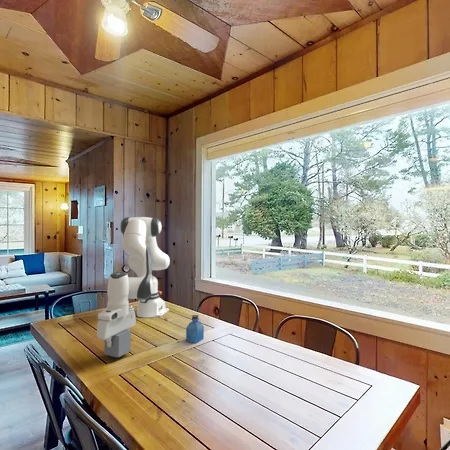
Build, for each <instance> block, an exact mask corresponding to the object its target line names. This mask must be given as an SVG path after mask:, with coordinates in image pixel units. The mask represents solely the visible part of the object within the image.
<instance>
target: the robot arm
mask: <svg viewBox="0 0 450 450" xmlns="http://www.w3.org/2000/svg"><path fill="white" fill-rule="evenodd" d="M120 222H121V223H120V232H121V234H122V235H123V237H122V241H121V247H122V249H123V251H124V252H125V253H126V254H127V255H128V256H129V257H128V260H127V264H128V265H127V266H128V267H129V269H131V270H132V271H133V272H134V273H135V274H136V276H137V277H136V276H135V277H133V276H130V277H129V276H128V275H129V274H128V272H125V271H116V272H112V273H110V275H109V277H108V281H107V291H106V292H107V294H106V295H107V299H108V300H107V304H106V307H105V308H104V309H103V310H102V311H100V312H99V313H98V314H97V319H98V321H97V324H96V325H97V326H96V327H97V328H96V337H97V338H98V339H99V340H104V341H105V340H106V342H107V346H108V347H112V346H113V342H111V339H112V336H114V335H116V334H118V333H120V332H122V331H124V330H130V328H133V327H135V325H136V322H137V321H136V316H137V317H139V318H144V319H145V318H146V319H147V318H157V317H163V315H165V314H166V313H168V312H169V311H170V308H168V307H166V302H165V300H163V298H161V297H160V295H162V293H163V292H162V291H160V290H158V289H159V287H158V286H159V281H158V278H157V277H156V276H154V275H153V271H162V270H166V269H168V268H169V266H170V264H171V260H170V259H171V258H170V256H169V255H168V254H166V253H165V252H164V251H162V250H161V249H160V248H159V246H158V243H157V237H158V236H160V234H161V233H162V228H163V227H162V221H161V220H160V218H157V217H148V216H135V217H134V216H132V217H130V216H129V217H128V216H127V217H124V218H123V219H122V220H121V221H120ZM129 299H132V300H133V299H134V300H135V299H137V306H136V307H137V308H136V311H135V307H134V306H133V305H130V302H129Z"/></svg>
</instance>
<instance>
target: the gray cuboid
mask: <svg viewBox="0 0 450 450" xmlns="http://www.w3.org/2000/svg"><path fill="white" fill-rule="evenodd" d="M131 331H132V330H130V329H129V330H124V331H122V332H120V333H118V334H116V335H114V336H112V339H111V342H113V346H112V347H108V346H107V342H106V340H104V348H103V349H104V351H103V352H104V355H105V356H111V357H112V356H114V357H113V358H120V357H122V356H124V355H125V354H127V353H129V352H131V344H132V343H131V341H132V340H131V337H132V336H131V335H132V334H131V333H132V332H131Z"/></svg>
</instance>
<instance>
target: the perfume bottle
mask: <svg viewBox="0 0 450 450" xmlns="http://www.w3.org/2000/svg"><path fill="white" fill-rule="evenodd" d="M191 317H192V318H191V322H189V323H188V325H187V326H186V331H185V334H186V335H185V336H186V339H185V340H186V342H191V343H195V344H198V343H199V342H201V341H203V340H205V339H204V334H205V332H204V331H205V329H204V328H205V327H204V325H203V323H202V322H201V321H199V319H200V318H199V315H198V314H192V316H191Z"/></svg>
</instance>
